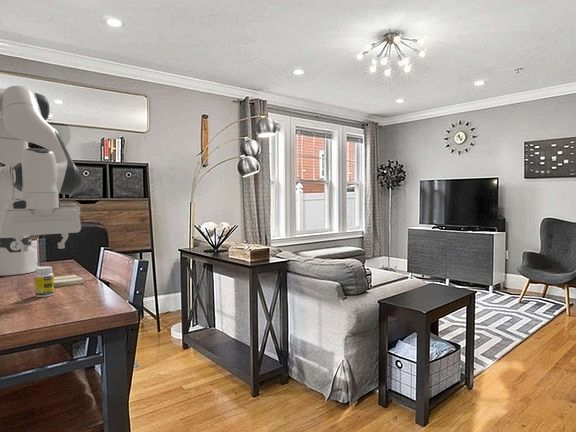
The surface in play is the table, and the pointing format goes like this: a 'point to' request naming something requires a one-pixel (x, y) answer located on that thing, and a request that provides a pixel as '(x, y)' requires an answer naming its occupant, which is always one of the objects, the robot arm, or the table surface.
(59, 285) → the ash board
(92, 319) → the table surface
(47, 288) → the supplement bottle
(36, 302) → the table surface
